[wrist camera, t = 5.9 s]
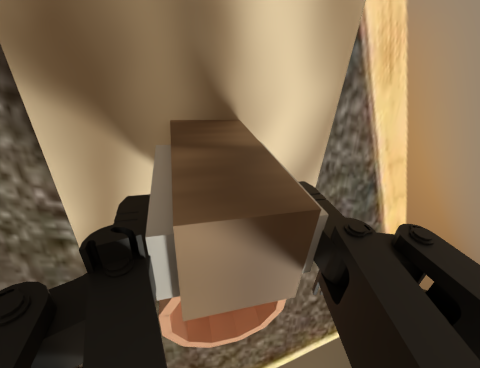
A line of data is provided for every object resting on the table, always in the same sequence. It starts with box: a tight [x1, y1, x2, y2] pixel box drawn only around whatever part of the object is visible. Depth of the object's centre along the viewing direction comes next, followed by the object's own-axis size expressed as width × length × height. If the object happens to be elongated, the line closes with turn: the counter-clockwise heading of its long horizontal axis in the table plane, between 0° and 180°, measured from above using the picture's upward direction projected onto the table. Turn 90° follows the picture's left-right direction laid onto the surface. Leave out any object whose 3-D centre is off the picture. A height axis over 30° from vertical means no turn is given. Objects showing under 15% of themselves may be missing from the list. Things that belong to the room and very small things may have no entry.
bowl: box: [159, 296, 286, 347], centre depth 28 cm, size 14×14×6 cm
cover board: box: [0, 0, 366, 321], centre depth 11 cm, size 17×17×10 cm
